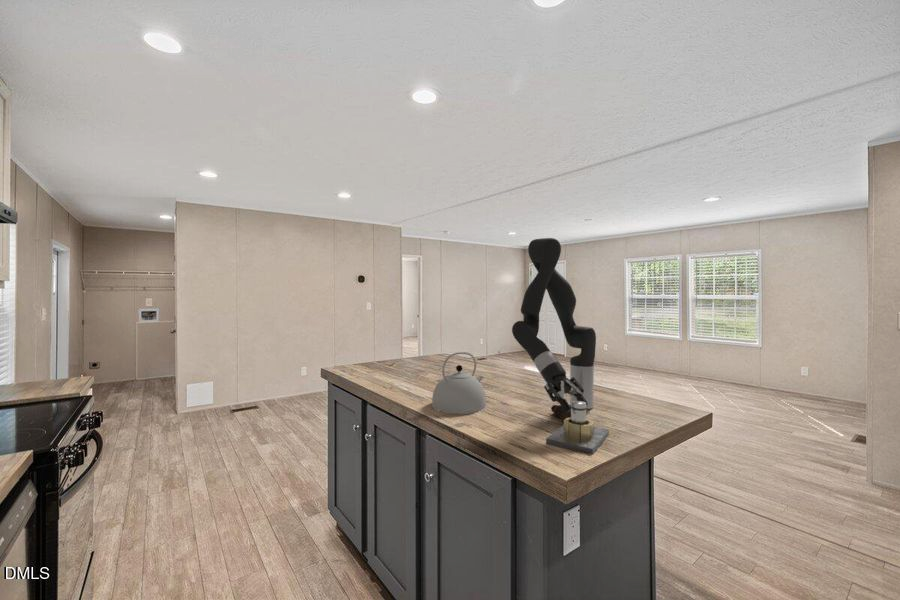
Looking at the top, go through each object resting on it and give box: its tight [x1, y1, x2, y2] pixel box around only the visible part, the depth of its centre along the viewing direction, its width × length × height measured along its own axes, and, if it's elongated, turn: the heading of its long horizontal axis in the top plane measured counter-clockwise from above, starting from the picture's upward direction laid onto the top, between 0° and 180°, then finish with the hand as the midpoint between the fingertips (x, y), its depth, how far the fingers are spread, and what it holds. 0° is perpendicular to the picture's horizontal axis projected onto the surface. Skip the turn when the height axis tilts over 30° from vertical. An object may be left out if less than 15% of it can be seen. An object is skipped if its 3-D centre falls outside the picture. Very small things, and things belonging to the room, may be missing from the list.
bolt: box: [550, 404, 571, 421], centre depth 144 cm, size 6×5×15 cm
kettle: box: [431, 351, 487, 415], centre depth 162 cm, size 25×23×22 cm
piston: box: [570, 401, 587, 425], centre depth 124 cm, size 5×5×10 cm
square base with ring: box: [545, 418, 610, 455], centre depth 124 cm, size 20×14×6 cm
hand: (577, 408), depth 124 cm, fingers open, 8 cm apart
